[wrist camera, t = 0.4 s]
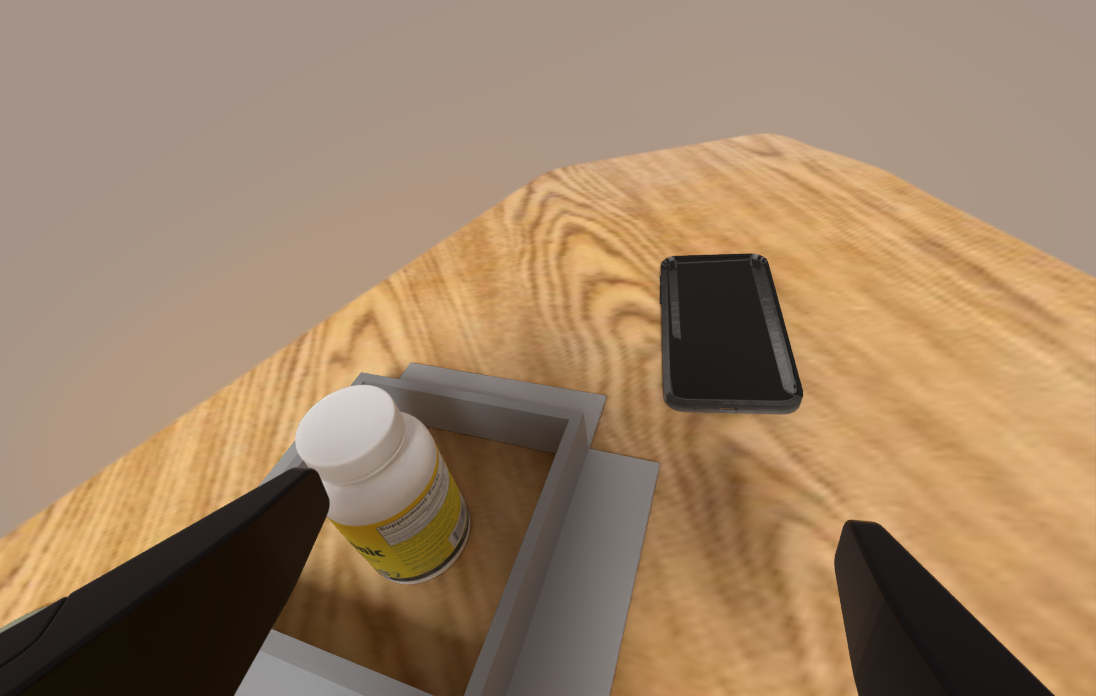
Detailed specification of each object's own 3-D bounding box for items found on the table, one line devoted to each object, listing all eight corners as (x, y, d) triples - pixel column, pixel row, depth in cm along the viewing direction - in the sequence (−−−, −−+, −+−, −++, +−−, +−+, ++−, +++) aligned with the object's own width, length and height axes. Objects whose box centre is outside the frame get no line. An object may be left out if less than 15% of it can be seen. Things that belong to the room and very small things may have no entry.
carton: (553, 954, 16) (536, 966, 14) (93, 700, 23) (28, 678, 21) (672, 409, 30) (673, 369, 28) (365, 357, 38) (346, 322, 35)
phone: (765, 253, 39) (807, 406, 28) (763, 265, 40) (803, 418, 29) (659, 256, 41) (661, 402, 30) (659, 268, 41) (661, 414, 31)
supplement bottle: (355, 531, 28) (260, 418, 21) (441, 471, 30) (380, 351, 23) (397, 613, 24) (299, 509, 17) (492, 540, 26) (437, 421, 19)
